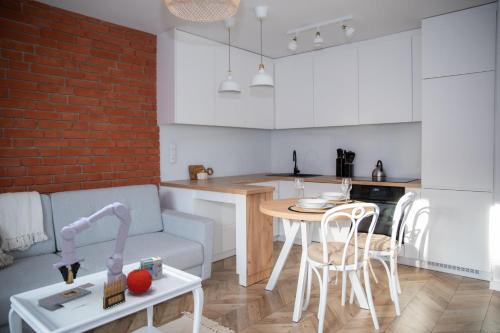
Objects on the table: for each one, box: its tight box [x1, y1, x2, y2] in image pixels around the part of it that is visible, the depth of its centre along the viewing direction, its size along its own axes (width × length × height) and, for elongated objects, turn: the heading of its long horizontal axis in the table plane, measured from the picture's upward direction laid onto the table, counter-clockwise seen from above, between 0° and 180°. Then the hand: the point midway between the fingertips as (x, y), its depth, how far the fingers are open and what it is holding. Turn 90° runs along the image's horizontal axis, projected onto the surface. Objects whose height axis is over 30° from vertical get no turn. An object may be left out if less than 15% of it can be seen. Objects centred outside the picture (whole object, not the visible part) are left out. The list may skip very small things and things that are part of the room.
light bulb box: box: [139, 255, 163, 281], centre depth 202 cm, size 11×7×11 cm, turn 123°
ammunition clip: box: [102, 276, 126, 310], centre depth 168 cm, size 11×2×12 cm, turn 148°
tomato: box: [126, 266, 153, 295], centre depth 182 cm, size 12×13×12 cm
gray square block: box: [77, 282, 95, 290], centre depth 189 cm, size 6×6×2 cm
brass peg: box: [65, 268, 75, 285], centre depth 176 cm, size 4×4×6 cm
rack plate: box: [37, 286, 92, 312], centre depth 174 cm, size 12×19×3 cm, turn 146°
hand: (69, 280), depth 175 cm, fingers closed on brass peg, 3 cm apart
